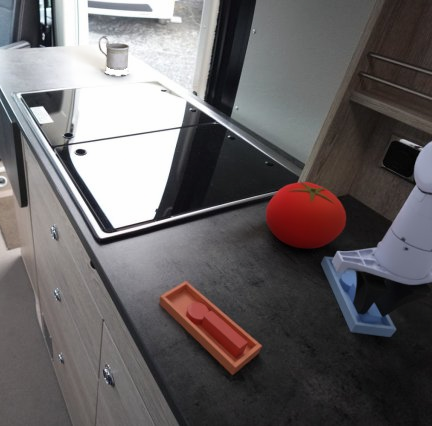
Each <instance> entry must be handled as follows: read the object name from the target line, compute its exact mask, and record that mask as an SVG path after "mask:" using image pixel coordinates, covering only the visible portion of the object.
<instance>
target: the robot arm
mask: <svg viewBox="0 0 432 426" xmlns="http://www.w3.org/2000/svg"><path fill="white" fill-rule="evenodd" d="M413 177H414V181H415V185H414V187H413V189H412V190H411V192H410V194H409V196H408V197H407V199H406V200H405V202H404V204H403V205H402V207H401V208H400V210H399V211H398V213H397V215H396V217H395V218H394V220H393V221H392V223H391V225H390V226H389V228H388V230H387V231H386V232H385V235H384V236H383V238H382V239H381V241H379V242H378V243H377V245H376V247H371V248H370V247H369V248H363V249H355V250H348V251H342V250H337V251H336V252H335V254H334V256H333V257H334V258H333V260H332V263H333V265H334V268H335V269H336V271H337V272H342V273H344V272H345V271H346V270H354V271H356V292H355V297H354V301H353V305H354V307H355V309H356V311H357V313H358V314H365V313H366V312H367V311H368V310H369V309H370V307H371V306H372V305H373V303H375V305H376V306H377V308H378V310H379V312H380V314H381V316H382V317H384V316H386V315H390V314H391V313H392V312H394V311H396V310H397V309H399V308H401V307H403V306H405V305H407V304H409V303H411V302H414V301H417V300H421V299H426V298H428V297H429V296H430V294H431V293H432V289H431V288H430V286H429V285H428V283H429V284H430V283H432V140H431V141H429V142H428V143H427V144H426V145H425V146H424V147H423V148H422V149H421V150H420V152H419V153H418V156H417V157H416V160H415V164H414V167H413Z"/></svg>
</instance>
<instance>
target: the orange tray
mask: <svg viewBox="0 0 432 426" xmlns="http://www.w3.org/2000/svg"><path fill="white" fill-rule="evenodd" d="M193 302H199V303H202V304H204V305H205V306H206V307H207V308H208V310H209V312H211V311H213V312H214V313H215V314H216V315H217V316H218V317H219V318H221V319H222V320H223V321H224V322H225V323H226V324H227V325H229V326H230V327H231V328H232V329H233V330H234V331H235V332H237V333H238V334H239V335H240V336H241V337H242V338H243V339H245V340H246V341H247V342H248V343H247V346H246V348H245V351H244V353H242V354H241V355H240V356H239V357H238V358H235V357H234V356H233V355H231V354H230V353H229V352H228V351H227V350H226V349H225V348H224V347H223V346H222V345H221V344H220V343H219V342H217V341H216V340H215V339H214V338H213V337H212V336H211V335H210V334H209V333H208V332H207V331H206V330H205V329H204V328H202V327H201V325H196V324H193V323H192V322H191V321H190V320H189V319H188V318H187V317H186V311H187V307H188V305H189V304H191V303H193ZM158 304H159V305H160V306H161V307H162V308H163V309H164V310H165V311H166V312H167V313H168V314H169V315H170V316H171V317H172V318H173V319H174V320H175V321H176V322H177V323H178V324H179V325H180V326H182V328H183V329H185V331H187V333H189V334H190V336H192V337H193V338H194V339H195V340H196V341H197V342H198V343H199V345H201V346H202V347H203V348H204V349H205V350H206V351H207V352H208V353H209V354H210V355H211V357H213V358H214V359H215V360H216V361H217V362H218V363H219V364H220V365H221V366H222V367H223V368H224V369H225V370H226V371H228V373H230V374H231V375H232V376H234V375H235V374H236V373H237V372H239V371H240V370H241V369H242V368H243V367H244V366H245V365H247V364H248V363H249V362H251V360H252V359H254V358H255V357H256V356H258V354H259V353H260V351H261V350H262V347H263V345H262V344H260V343H259V342H258V341H257V340H256V339H255V338H254V337H252V335H250V334H249V333H248V332H247V331H245V330H244V329H243V328H242V327H241V326H239V324H237V323H236V322H235V321H234V320H233V319H231V317H229V316H228V315H227V314H225V313H224V312H223V311H222V310H221V309H220V308H219V307H217V306H216V305H215V304H214V303H212V301H211V300H209V299H208V298H207V297H206V296H204V295H203V294H202V293H201V292H200V291H199V290H198V289H197V288H196V287H194V286H193V285H192V284H191V283H190V282H188V281H187V280H185V281H183V282H181V283H180V284H178V285H176V286H174V287H173V288H172V289H170V290H168V291H166V292H165V293H163V294H161V295H160V296H159V303H158Z"/></svg>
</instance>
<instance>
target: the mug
mask: <svg viewBox="0 0 432 426" xmlns="http://www.w3.org/2000/svg"><path fill="white" fill-rule="evenodd" d="M102 39H104V40H105V41H106V44H105V48H106V52H104V51H103V50H102V47H101V40H102ZM98 48H99V51H100V52H101V53H102V54H103V55H104V56H105V58H106V63H105V64H106V65H105V66H107V67H108V68H110V69H114V70H124V69H126V68H128V61H129V48H130V45H128V44H126V43H120V42H119V43H118V42H116V43H115V42H113V43H109V39H108V35H102V36H101V37H100V38H99V39H98Z"/></svg>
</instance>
